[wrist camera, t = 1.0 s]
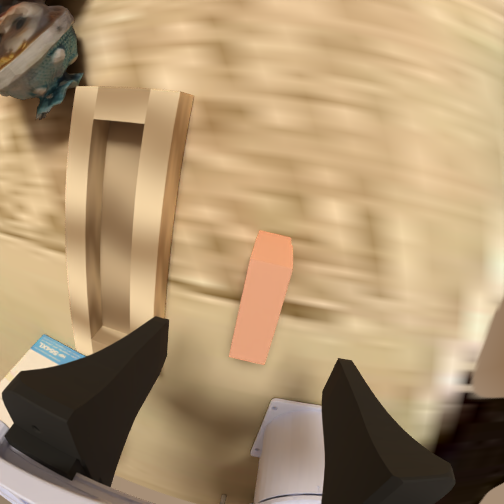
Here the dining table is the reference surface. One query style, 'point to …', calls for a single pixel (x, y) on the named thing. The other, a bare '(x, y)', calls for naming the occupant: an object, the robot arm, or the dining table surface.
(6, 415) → the ink box
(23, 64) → the figurine
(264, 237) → the tall salmon pink block
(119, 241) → the rail
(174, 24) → the dining table surface
